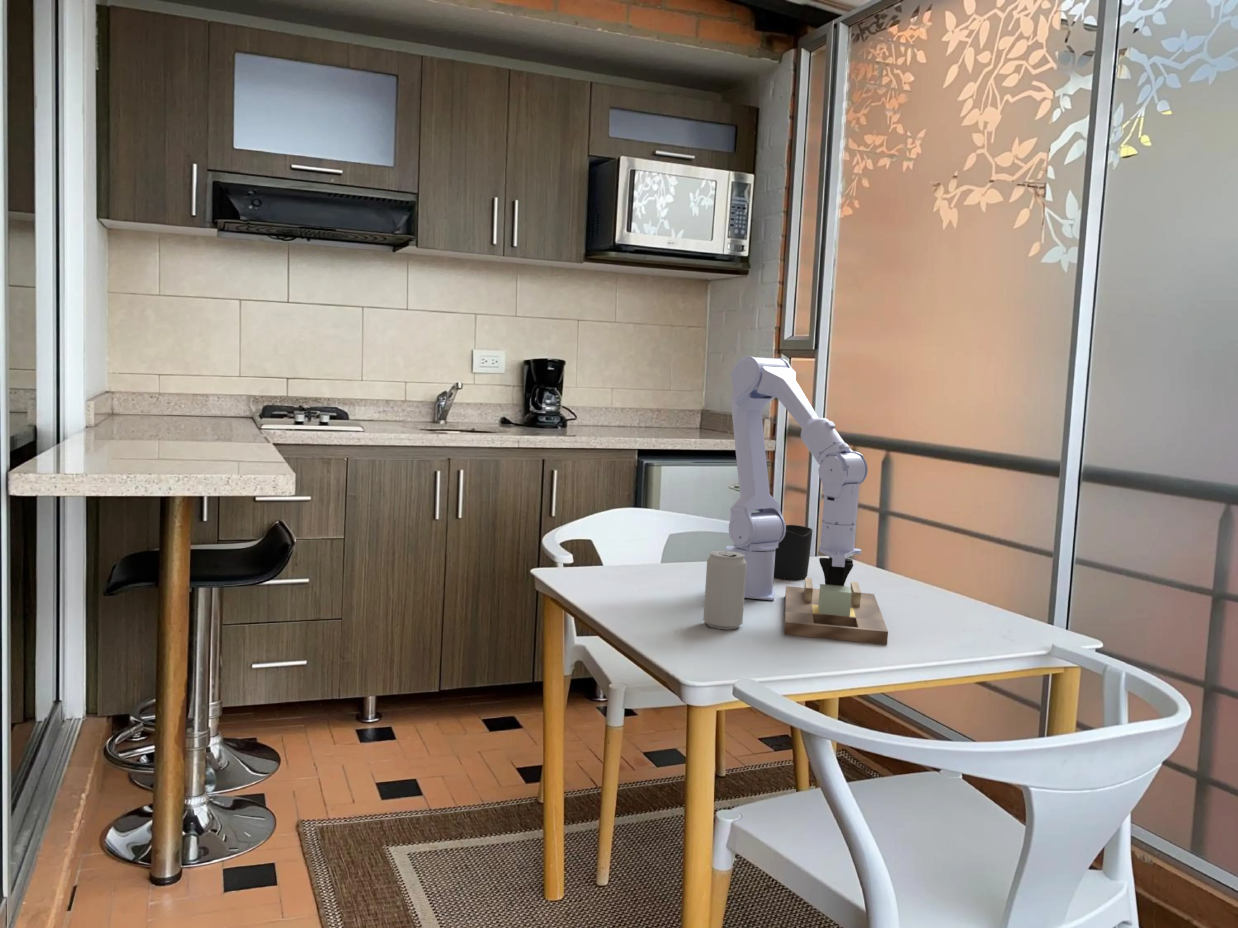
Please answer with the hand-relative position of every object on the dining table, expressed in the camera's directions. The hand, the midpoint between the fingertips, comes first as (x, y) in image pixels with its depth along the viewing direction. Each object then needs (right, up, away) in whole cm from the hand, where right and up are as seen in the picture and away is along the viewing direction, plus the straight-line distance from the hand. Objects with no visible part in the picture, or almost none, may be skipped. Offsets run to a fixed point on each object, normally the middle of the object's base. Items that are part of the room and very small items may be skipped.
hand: (833, 600), depth 178 cm
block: (-1, -1, -4) cm, 4 cm away
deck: (0, -3, 0) cm, 3 cm away
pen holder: (-3, 0, +34) cm, 35 cm away
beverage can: (-20, -3, -9) cm, 22 cm away
